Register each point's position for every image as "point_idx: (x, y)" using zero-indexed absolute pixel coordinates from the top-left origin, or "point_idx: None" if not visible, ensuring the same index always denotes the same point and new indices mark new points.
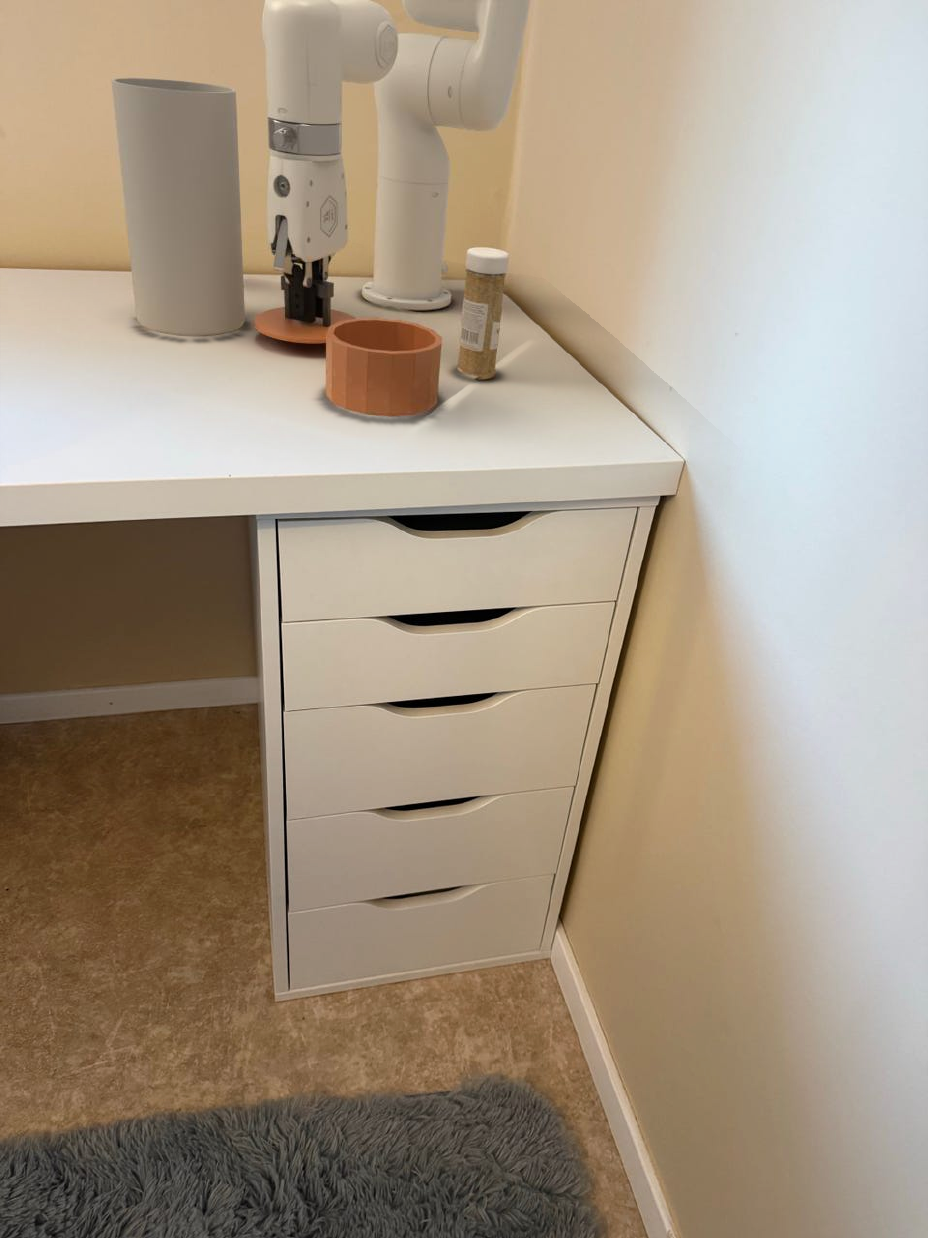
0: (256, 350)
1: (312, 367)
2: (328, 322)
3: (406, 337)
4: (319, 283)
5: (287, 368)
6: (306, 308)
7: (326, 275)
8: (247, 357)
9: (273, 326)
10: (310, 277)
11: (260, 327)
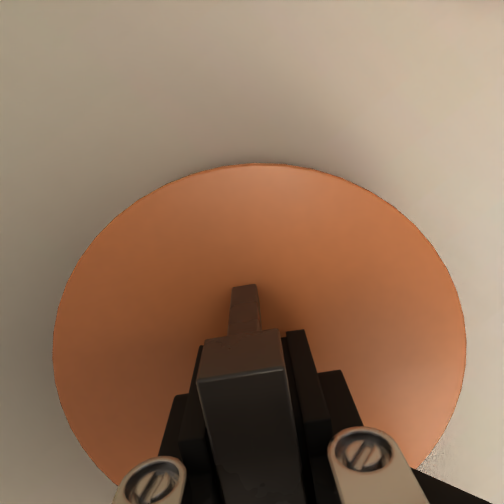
0: None
1: (421, 189)
2: (251, 290)
3: None
4: (285, 422)
5: (483, 238)
6: (322, 381)
7: (140, 483)
8: (475, 378)
9: (395, 416)
10: (353, 475)
11: (436, 436)
